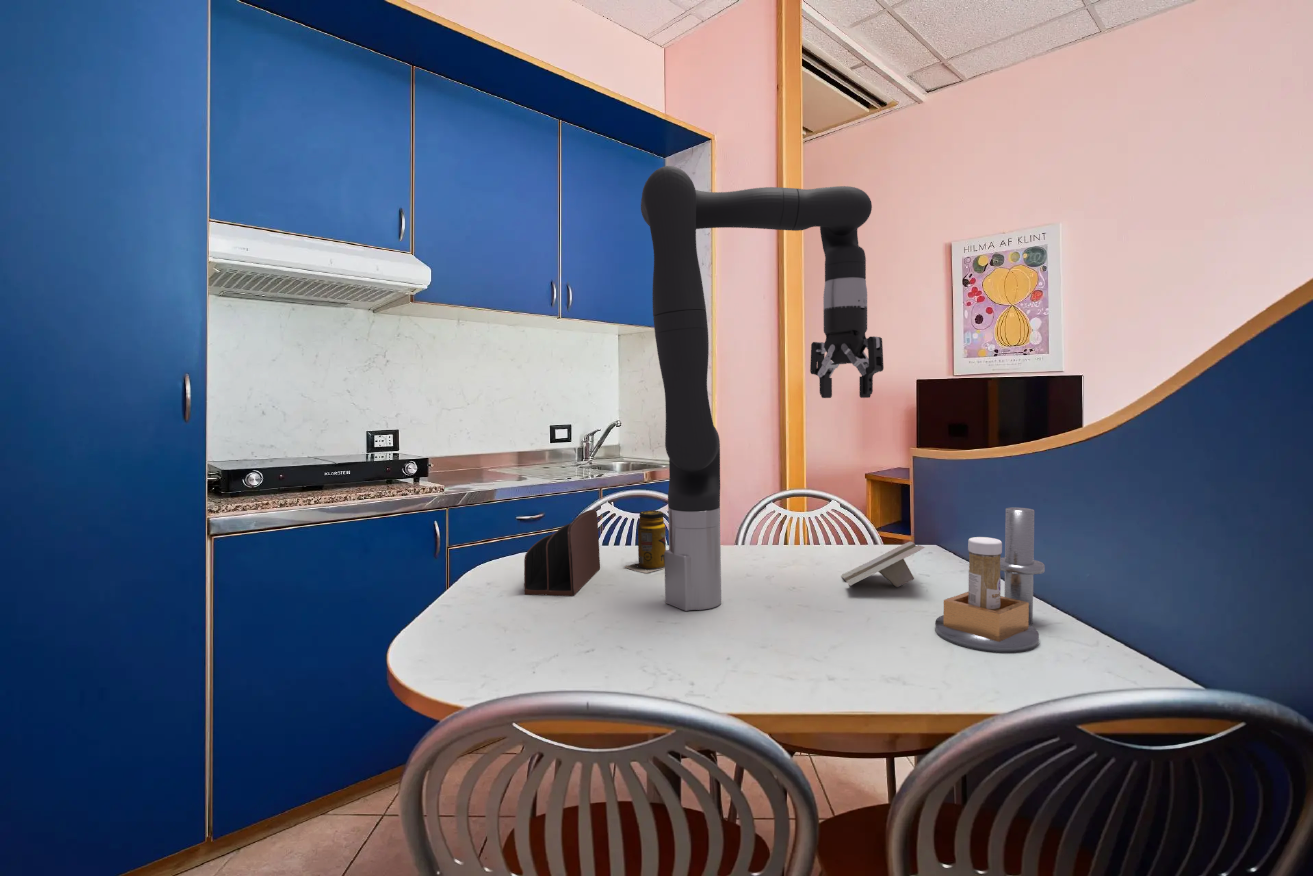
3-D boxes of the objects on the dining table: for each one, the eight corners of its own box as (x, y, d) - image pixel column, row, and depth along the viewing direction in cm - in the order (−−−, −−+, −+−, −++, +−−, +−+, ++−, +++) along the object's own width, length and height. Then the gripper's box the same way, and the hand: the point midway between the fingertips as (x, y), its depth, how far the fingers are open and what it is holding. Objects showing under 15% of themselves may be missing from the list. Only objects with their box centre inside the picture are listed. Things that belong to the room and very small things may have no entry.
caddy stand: (1008, 660, 91) (1010, 530, 90) (916, 632, 102) (917, 516, 101) (1075, 628, 103) (1078, 512, 102) (986, 606, 114) (987, 502, 113)
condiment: (674, 566, 145) (673, 511, 145) (646, 574, 140) (645, 517, 139) (651, 560, 151) (650, 508, 150) (623, 568, 145) (622, 513, 144)
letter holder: (600, 569, 144) (599, 505, 143) (574, 597, 125) (572, 523, 124) (556, 568, 146) (554, 504, 145) (523, 595, 126) (521, 522, 125)
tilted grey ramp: (882, 623, 118) (948, 568, 117) (848, 585, 120) (912, 530, 119) (870, 609, 134) (927, 560, 133) (840, 575, 136) (896, 527, 135)
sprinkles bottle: (1003, 633, 98) (1004, 543, 97) (969, 630, 99) (970, 541, 99) (997, 623, 102) (999, 536, 101) (965, 620, 104) (966, 535, 103)
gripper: (800, 310, 122) (800, 398, 123) (865, 300, 111) (865, 397, 112) (827, 312, 127) (827, 397, 128) (892, 303, 115) (892, 397, 116)
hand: (845, 397), depth 120 cm, fingers open, 8 cm apart
